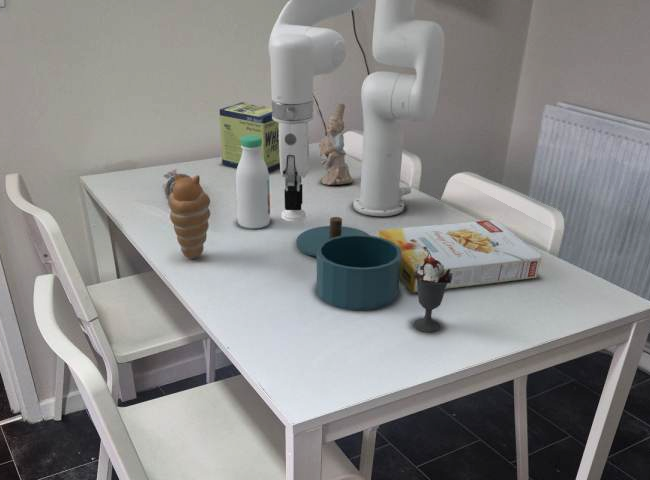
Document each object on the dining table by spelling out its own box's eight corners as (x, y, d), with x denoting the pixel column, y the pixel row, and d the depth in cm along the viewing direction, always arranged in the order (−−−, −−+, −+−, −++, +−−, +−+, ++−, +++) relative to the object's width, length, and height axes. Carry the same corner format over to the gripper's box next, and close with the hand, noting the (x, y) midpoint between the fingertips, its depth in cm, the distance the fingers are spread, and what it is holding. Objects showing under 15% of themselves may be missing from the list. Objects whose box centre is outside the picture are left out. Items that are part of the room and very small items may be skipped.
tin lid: (336, 224, 169) (337, 199, 166) (389, 247, 158) (392, 220, 155) (280, 243, 160) (280, 217, 156) (333, 269, 149) (334, 241, 146)
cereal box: (377, 228, 152) (495, 215, 159) (375, 252, 155) (491, 239, 162) (415, 270, 136) (544, 254, 143) (412, 296, 140) (539, 279, 146)
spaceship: (170, 200, 159) (201, 183, 160) (149, 169, 189) (176, 155, 189) (186, 230, 164) (217, 214, 164) (164, 195, 193) (190, 181, 193)
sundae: (404, 317, 132) (412, 241, 124) (440, 316, 133) (450, 240, 124) (412, 335, 127) (420, 257, 118) (449, 334, 127) (460, 256, 119)
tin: (357, 266, 150) (359, 228, 145) (415, 293, 140) (419, 253, 135) (299, 288, 142) (299, 248, 137) (356, 319, 132) (359, 277, 127)
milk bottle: (265, 230, 166) (263, 143, 154) (233, 227, 167) (229, 141, 156) (273, 218, 172) (272, 133, 161) (242, 215, 173) (239, 131, 162)
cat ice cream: (218, 252, 156) (212, 170, 145) (206, 267, 149) (199, 182, 139) (179, 248, 157) (172, 166, 147) (166, 263, 151) (157, 178, 141)
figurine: (340, 175, 199) (343, 99, 188) (358, 183, 193) (361, 106, 182) (313, 180, 195) (314, 103, 184) (330, 189, 189) (332, 111, 178)
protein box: (265, 174, 199) (263, 116, 190) (221, 164, 206) (217, 108, 197) (286, 165, 206) (285, 108, 197) (243, 155, 213) (240, 101, 204)
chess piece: (310, 214, 142) (311, 165, 137) (297, 223, 139) (297, 172, 133) (290, 210, 145) (289, 160, 139) (276, 218, 141) (275, 168, 135)
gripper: (310, 122, 123) (310, 223, 134) (315, 99, 136) (315, 192, 147) (267, 121, 124) (270, 222, 134) (276, 98, 137) (278, 191, 147)
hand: (293, 206), depth 141 cm, fingers closed on chess piece
